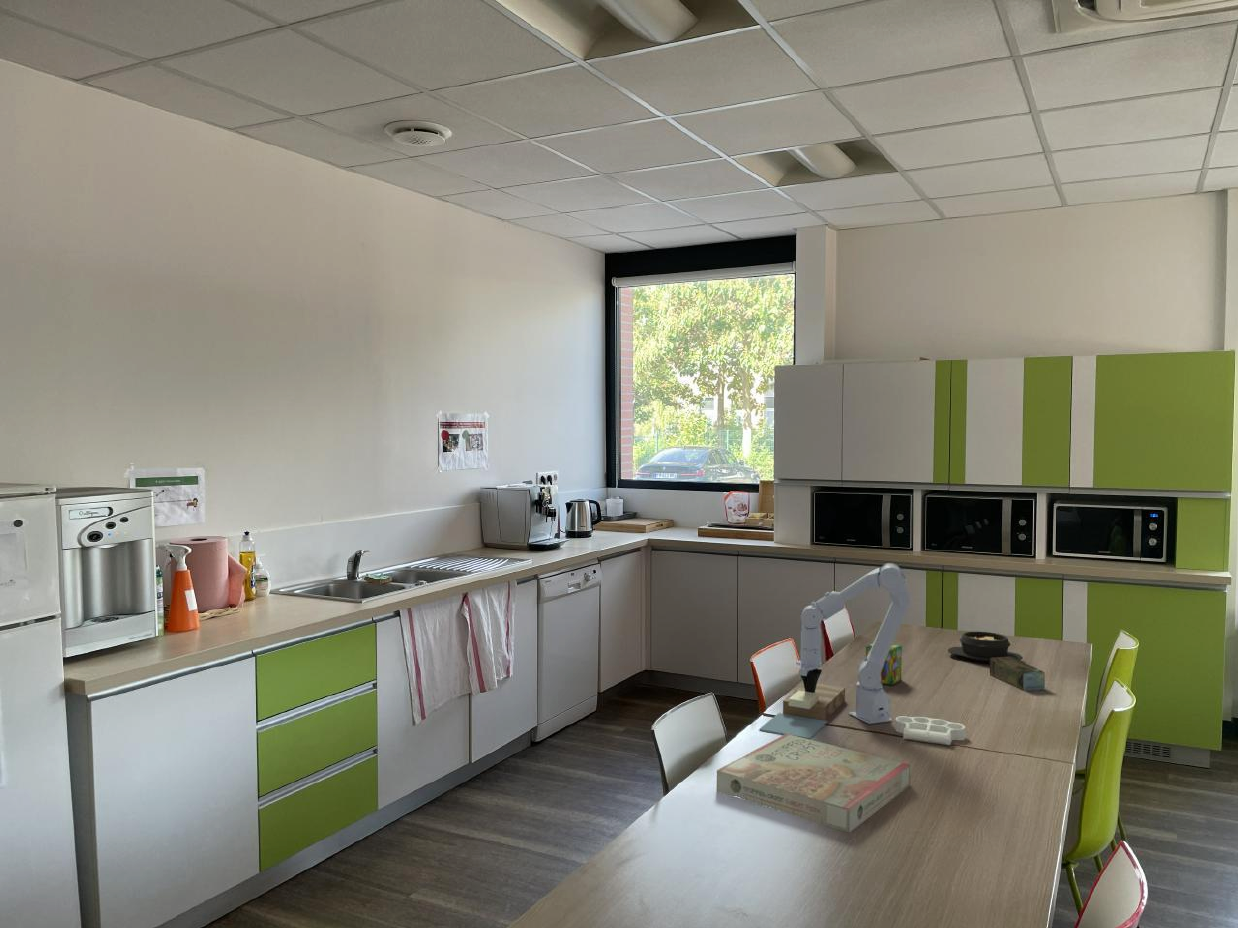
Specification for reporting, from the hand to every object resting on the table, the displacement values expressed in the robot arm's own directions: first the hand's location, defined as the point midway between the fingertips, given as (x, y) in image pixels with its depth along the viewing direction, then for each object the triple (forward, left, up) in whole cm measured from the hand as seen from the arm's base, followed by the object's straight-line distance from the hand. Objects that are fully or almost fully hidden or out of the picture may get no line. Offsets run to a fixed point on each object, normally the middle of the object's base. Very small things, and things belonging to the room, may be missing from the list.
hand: (810, 694), depth 261 cm
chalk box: (+20, -41, -5) cm, 46 cm away
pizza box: (-48, +30, -6) cm, 57 cm away
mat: (-10, +11, -5) cm, 16 cm away
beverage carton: (+4, -81, -6) cm, 81 cm away
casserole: (+31, -93, -5) cm, 98 cm away
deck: (+3, -4, -5) cm, 7 cm away
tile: (-4, +4, -1) cm, 6 cm away
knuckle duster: (-28, -19, -6) cm, 34 cm away
